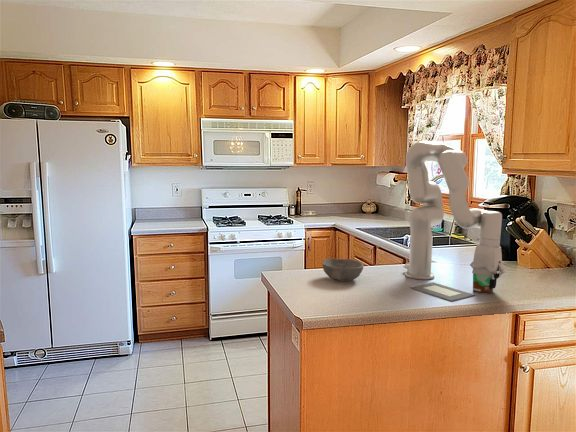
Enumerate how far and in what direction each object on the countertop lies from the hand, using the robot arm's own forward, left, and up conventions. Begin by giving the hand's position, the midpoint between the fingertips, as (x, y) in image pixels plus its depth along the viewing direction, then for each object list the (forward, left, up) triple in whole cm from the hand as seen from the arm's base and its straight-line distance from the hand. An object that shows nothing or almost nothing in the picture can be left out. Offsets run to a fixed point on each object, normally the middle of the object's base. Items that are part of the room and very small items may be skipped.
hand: (485, 286), depth 186 cm
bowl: (-43, -39, -3) cm, 58 cm away
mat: (-9, -16, -2) cm, 18 cm away
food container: (+1, 0, -2) cm, 3 cm away
